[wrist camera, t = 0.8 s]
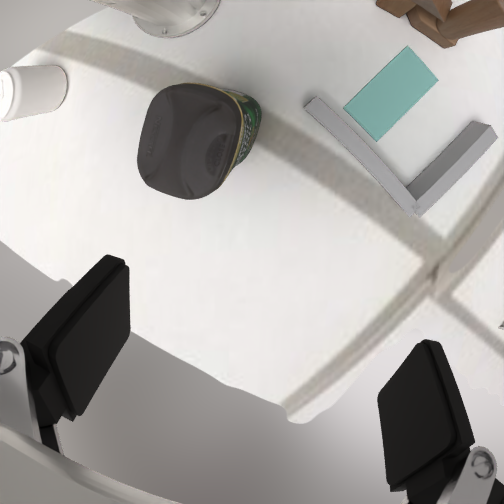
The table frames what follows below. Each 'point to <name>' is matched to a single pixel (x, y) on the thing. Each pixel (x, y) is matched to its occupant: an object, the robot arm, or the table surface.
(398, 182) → the corner wall
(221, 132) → the coffee jar
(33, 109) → the beverage can
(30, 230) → the table surface
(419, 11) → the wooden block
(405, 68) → the pad
